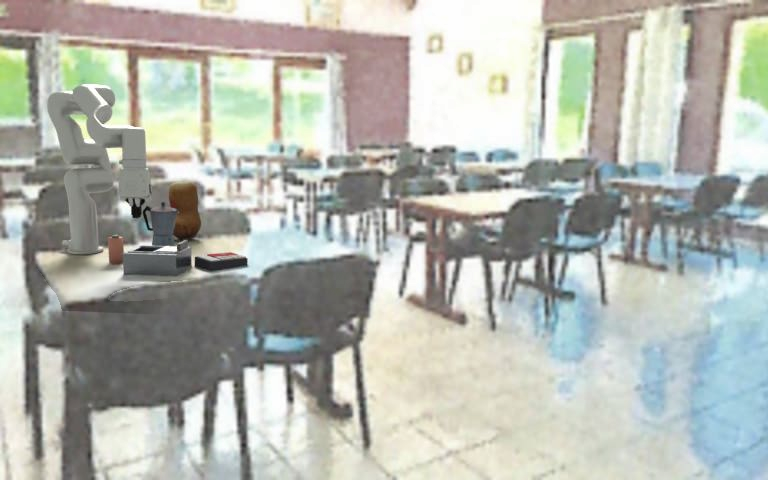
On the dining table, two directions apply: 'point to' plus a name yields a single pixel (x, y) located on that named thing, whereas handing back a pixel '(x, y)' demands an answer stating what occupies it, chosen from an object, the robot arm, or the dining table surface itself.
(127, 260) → the grey metal box
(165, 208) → the moka pot
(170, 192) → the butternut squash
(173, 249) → the guard cover
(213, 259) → the calculator
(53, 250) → the dining table surface
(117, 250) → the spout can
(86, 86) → the robot arm
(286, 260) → the dining table surface
